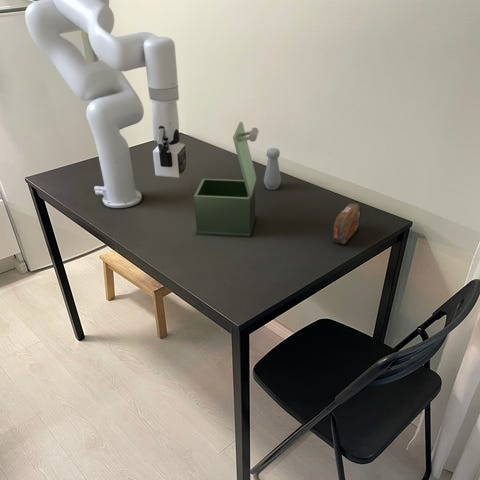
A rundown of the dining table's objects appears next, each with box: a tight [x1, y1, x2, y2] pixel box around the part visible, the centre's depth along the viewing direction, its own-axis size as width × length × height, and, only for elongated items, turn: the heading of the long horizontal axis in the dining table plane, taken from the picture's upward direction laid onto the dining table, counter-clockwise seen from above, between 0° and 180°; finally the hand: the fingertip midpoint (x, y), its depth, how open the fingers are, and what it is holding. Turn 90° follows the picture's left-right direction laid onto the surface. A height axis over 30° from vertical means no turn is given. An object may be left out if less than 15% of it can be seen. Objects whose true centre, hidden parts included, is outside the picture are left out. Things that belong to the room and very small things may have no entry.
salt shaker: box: [263, 147, 282, 191], centre depth 161 cm, size 6×6×13 cm
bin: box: [193, 177, 256, 238], centre depth 141 cm, size 16×12×12 cm
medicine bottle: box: [152, 129, 187, 179], centre depth 133 cm, size 7×7×12 cm
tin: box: [332, 202, 362, 245], centre depth 136 cm, size 15×3×8 cm, turn 148°
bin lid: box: [232, 121, 260, 197], centre depth 131 cm, size 16×12×5 cm
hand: (170, 160), depth 135 cm, fingers closed on medicine bottle, 7 cm apart
